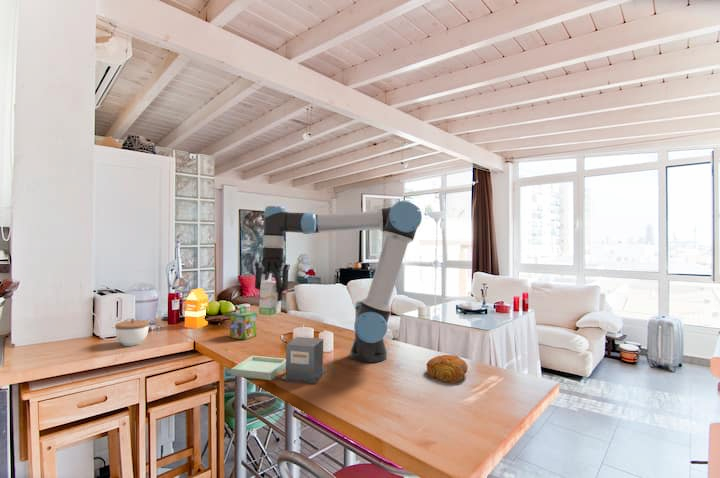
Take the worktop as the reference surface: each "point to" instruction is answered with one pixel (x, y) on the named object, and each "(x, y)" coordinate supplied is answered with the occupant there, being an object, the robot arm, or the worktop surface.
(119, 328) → the lidded bowl
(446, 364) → the brown rounded lump
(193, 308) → the orange juice
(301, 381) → the unit
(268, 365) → the tray
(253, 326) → the floral tea caddy
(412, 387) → the worktop surface
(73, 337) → the worktop surface
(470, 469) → the worktop surface
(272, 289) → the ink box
